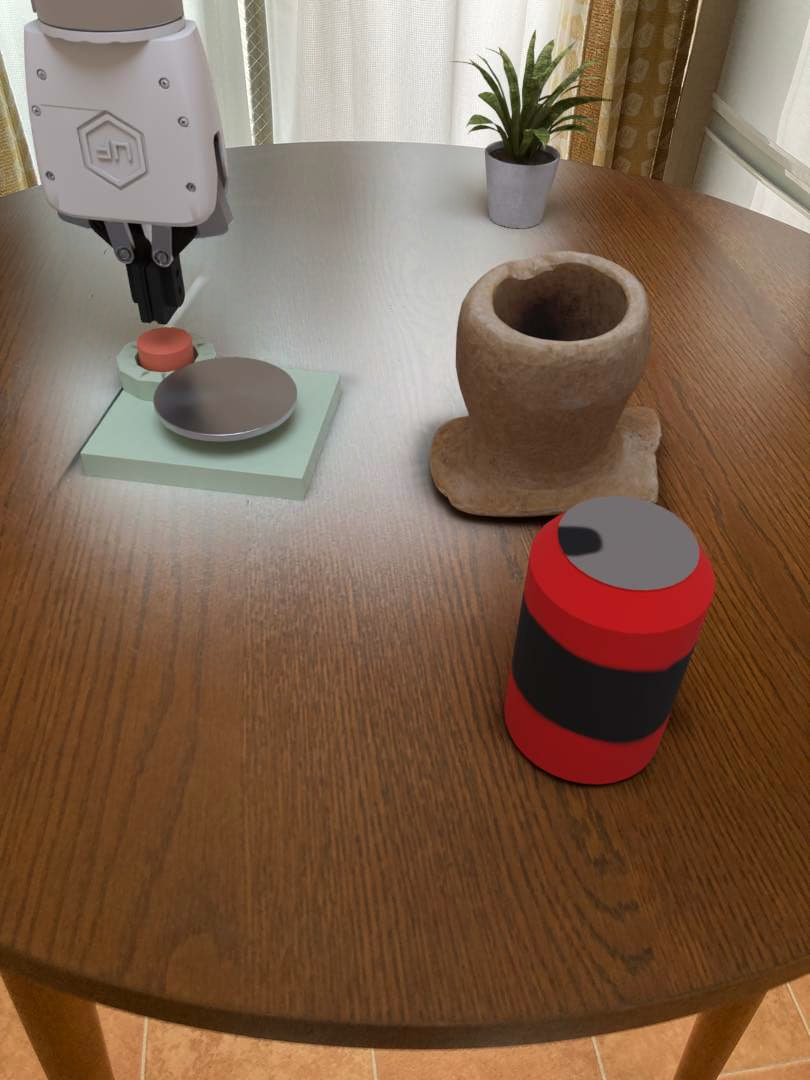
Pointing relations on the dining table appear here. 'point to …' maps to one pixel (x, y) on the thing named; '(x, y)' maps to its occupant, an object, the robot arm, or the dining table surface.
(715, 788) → the dining table surface
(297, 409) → the scale
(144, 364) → the tare button
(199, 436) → the plate
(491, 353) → the stone cup
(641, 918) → the dining table surface
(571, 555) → the soda can
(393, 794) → the dining table surface
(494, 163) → the house plant
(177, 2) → the robot arm
